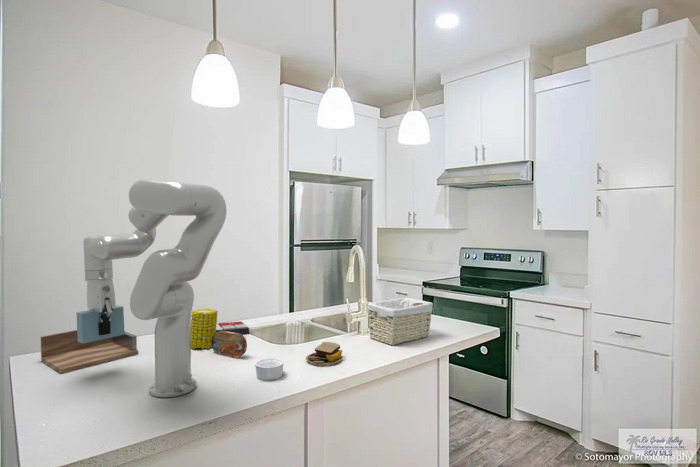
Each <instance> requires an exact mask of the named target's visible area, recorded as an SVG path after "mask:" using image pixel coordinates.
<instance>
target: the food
mask: <svg viewBox="0 0 700 467" xmlns="http://www.w3.org/2000/svg"><path fill="white" fill-rule="evenodd" d="M216 324H218V310H217V309H215V308H214V309H213V308H209V307H206V308H198V309H195V310H193V309H192V312H191V334H190V337H191V349H202V350H204V349H211V348H212V344H211V340H212V337H213V335H214V334H215V333H216Z"/></svg>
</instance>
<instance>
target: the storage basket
mask: <svg viewBox="0 0 700 467" xmlns="http://www.w3.org/2000/svg"><path fill="white" fill-rule="evenodd" d="M433 305H434V303H433V302H430V301H425V300H422V299H417V298H416V299H415V298H411V297H398V298H393V299H388V300H387V299H386V300H379V301H378V300H377V301H373V302H369V303H368V304H367V314H368V328H369V332H368V333H369V338H370V339H373V340H376V341H378V342H381V343H384V344H388V345H390V346H396V345H399V344H402V343H403V344H404V343H407V342H412V341H413V342H414V341H418V340H420V339H424V338H427V337H429V336H430V329H431V322H432V321H431V320H432V314H433Z"/></svg>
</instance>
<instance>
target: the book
mask: <svg viewBox="0 0 700 467" xmlns="http://www.w3.org/2000/svg"><path fill="white" fill-rule="evenodd" d="M105 311H106V310H103V311H102V312H105ZM124 312H125V311H124V306H123V305H116V309H115V310H114V311H112V315H111V317H110V318H111V320H110V329H111V333H110V334H106V335H101V336H100V335H99V326H98V323H99V322H100V320H99V313H98V312H96V311H93V310H89V309H88V310H82V311H77V312H76V328H77V329H76V330H77V336H78V342H80V343H83V344H84V343H88V342H93V341H97V340H102V339H106V338H111V337H115V336H120V335H124V331H125V315H124ZM103 315H104V314H102V317H103Z"/></svg>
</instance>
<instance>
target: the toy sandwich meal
mask: <svg viewBox="0 0 700 467" xmlns="http://www.w3.org/2000/svg"><path fill="white" fill-rule="evenodd" d="M342 354H343V349H341V345H340V344H338V343H336V342H331V341H322V342H321V344H319V345H318V346H316V348H314V352H312V353H309V354H307V356H306V357H305V360H306V361H307V362H308V363H309V364H310V363H311V365H313V364H314V365H313V366H317V365H320V366H319V367H328V366H327V365H330V366H334V365H333V364H335V365H337V364H338V362H339V363H340V362H341V361H342V359H343V356H342ZM336 363H337V364H336ZM321 365H322V366H321Z"/></svg>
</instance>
